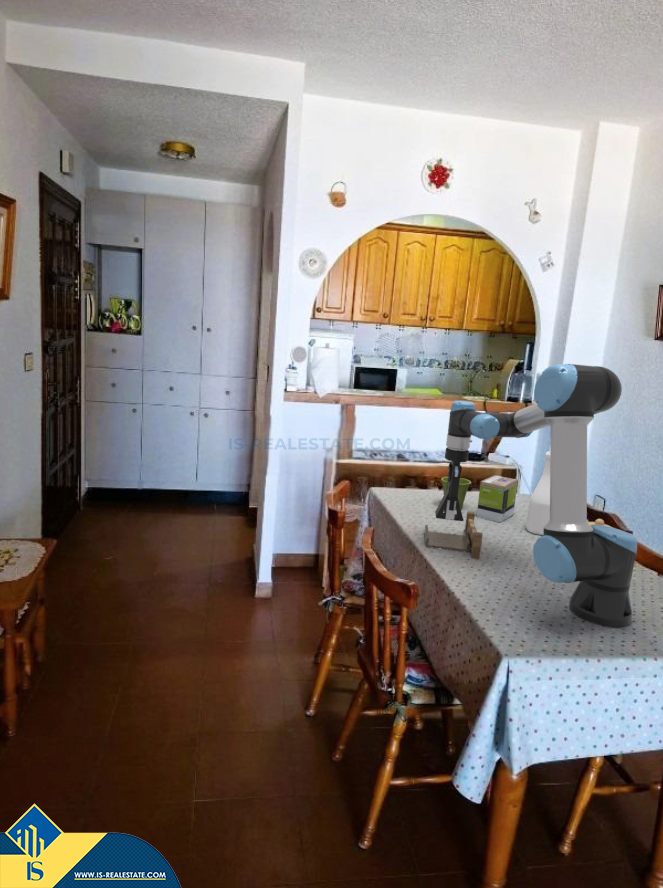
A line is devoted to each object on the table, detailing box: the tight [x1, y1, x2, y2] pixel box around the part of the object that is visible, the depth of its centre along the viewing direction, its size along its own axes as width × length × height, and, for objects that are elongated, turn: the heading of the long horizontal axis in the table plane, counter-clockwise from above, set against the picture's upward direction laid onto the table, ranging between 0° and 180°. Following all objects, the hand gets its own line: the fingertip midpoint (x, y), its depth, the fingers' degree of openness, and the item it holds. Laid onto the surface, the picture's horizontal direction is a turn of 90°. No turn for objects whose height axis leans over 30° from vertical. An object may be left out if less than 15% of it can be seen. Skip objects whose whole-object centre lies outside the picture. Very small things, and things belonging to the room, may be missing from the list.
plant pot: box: [441, 476, 472, 510], centre depth 248 cm, size 12×12×11 cm
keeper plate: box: [424, 524, 470, 553], centre depth 206 cm, size 14×14×3 cm
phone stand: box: [434, 482, 464, 522], centre depth 204 cm, size 9×6×12 cm, turn 82°
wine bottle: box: [525, 450, 550, 536], centre depth 223 cm, size 10×10×30 cm
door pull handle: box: [464, 511, 483, 560], centre depth 205 cm, size 25×2×8 cm, turn 173°
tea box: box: [476, 474, 519, 523], centre depth 240 cm, size 15×10×15 cm, turn 144°
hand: (448, 515), depth 205 cm, fingers closed on phone stand, 6 cm apart
